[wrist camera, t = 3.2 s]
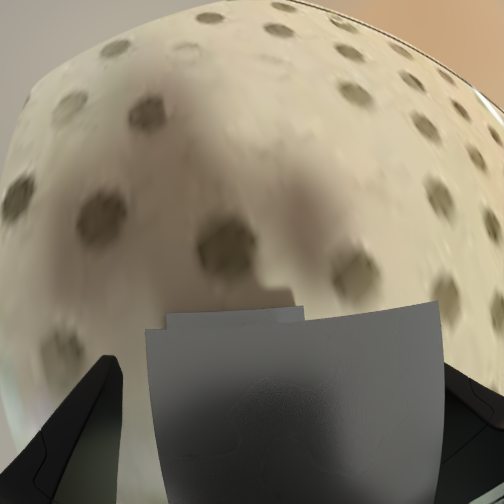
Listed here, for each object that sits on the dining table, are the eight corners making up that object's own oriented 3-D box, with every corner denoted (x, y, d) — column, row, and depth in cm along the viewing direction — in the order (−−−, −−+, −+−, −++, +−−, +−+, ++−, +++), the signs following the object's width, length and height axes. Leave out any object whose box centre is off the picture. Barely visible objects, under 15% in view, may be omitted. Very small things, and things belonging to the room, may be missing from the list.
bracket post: (306, 426, 14) (460, 523, 3) (179, 439, 13) (138, 602, 1) (296, 308, 16) (464, 231, 5) (168, 315, 15) (65, 238, 4)
